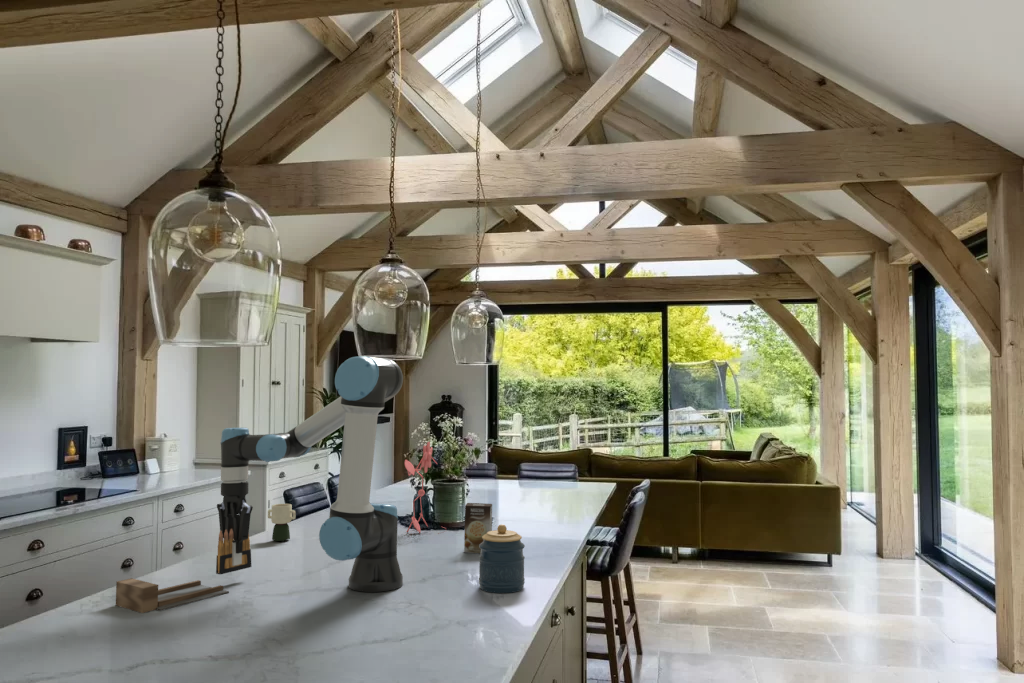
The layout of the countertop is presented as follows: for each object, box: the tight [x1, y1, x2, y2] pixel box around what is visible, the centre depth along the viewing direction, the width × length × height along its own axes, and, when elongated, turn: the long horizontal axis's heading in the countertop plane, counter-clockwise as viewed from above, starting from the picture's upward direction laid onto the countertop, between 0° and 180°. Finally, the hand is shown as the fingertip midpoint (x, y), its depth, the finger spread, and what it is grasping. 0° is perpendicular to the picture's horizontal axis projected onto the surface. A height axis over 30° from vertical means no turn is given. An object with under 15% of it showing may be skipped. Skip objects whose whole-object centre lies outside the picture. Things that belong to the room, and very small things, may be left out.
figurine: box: [404, 441, 447, 535], centre depth 296 cm, size 15×26×35 cm, turn 168°
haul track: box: [115, 577, 229, 614], centre depth 200 cm, size 16×24×6 cm
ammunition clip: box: [215, 528, 252, 575], centre depth 216 cm, size 11×2×12 cm, turn 147°
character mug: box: [267, 503, 297, 542], centre depth 275 cm, size 11×7×13 cm, turn 80°
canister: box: [478, 523, 526, 594], centre depth 212 cm, size 13×13×18 cm
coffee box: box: [463, 502, 493, 554], centre depth 259 cm, size 9×6×16 cm
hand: (234, 564), depth 215 cm, fingers closed on ammunition clip, 2 cm apart
